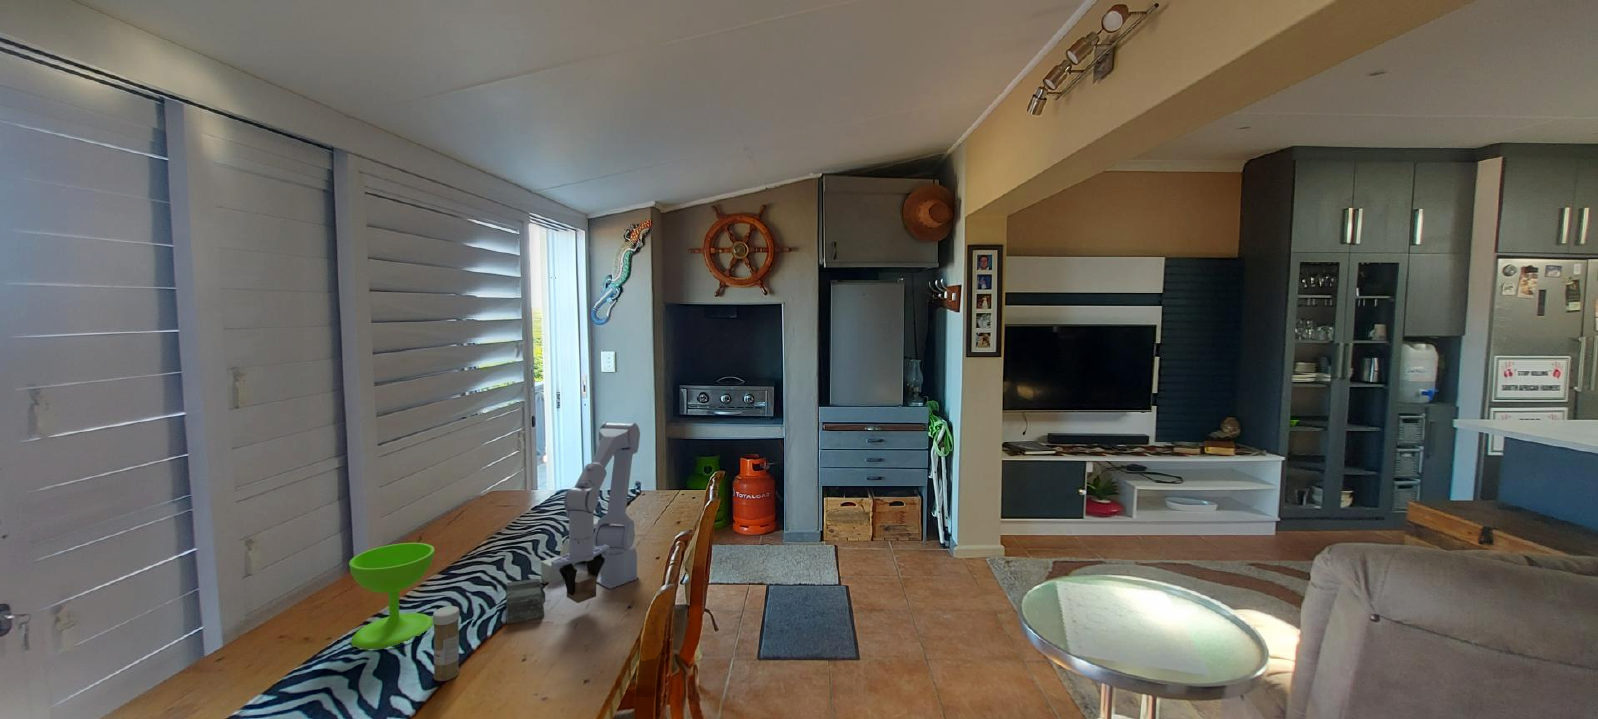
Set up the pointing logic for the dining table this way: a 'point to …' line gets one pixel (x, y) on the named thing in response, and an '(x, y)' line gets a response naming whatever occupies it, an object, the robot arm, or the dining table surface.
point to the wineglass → (392, 591)
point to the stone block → (524, 600)
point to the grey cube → (550, 571)
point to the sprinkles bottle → (446, 643)
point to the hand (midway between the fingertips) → (581, 589)
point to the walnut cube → (584, 587)
